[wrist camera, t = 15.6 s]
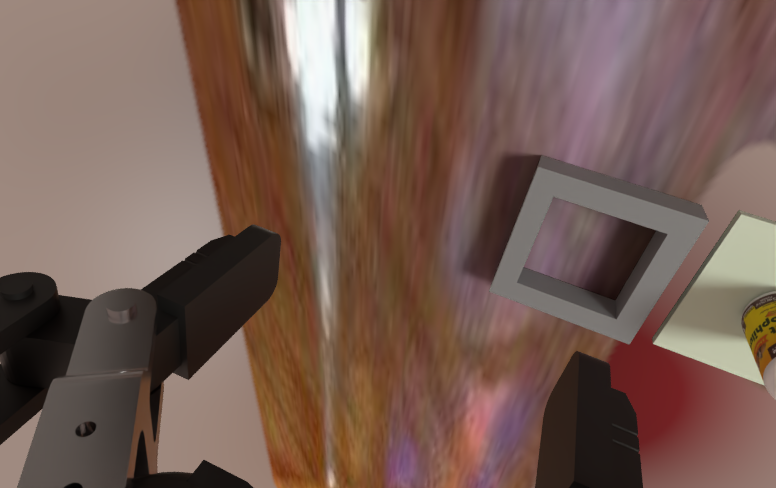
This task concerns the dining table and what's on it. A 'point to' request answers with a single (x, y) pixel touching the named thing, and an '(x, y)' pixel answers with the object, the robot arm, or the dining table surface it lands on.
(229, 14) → the dining table surface
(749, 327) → the supplement bottle
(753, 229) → the coaster
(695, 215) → the post collar
